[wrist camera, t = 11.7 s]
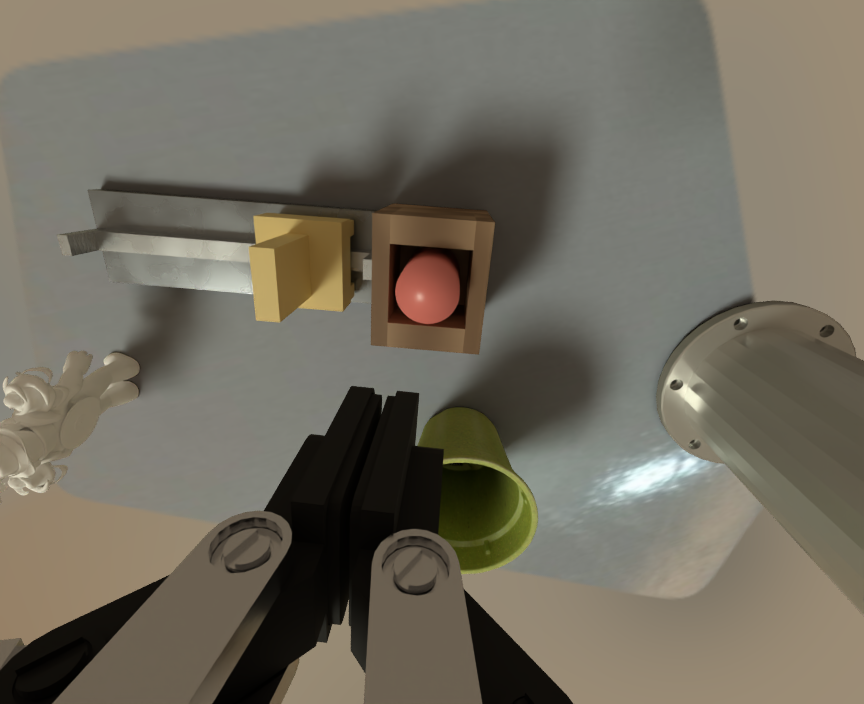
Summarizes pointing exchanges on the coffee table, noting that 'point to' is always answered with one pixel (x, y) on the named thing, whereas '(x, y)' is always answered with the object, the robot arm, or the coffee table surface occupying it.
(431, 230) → the wooden box
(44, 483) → the flower shoulder figurine
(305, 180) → the coffee table surface
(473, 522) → the plant pot
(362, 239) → the rail
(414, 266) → the plunger
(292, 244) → the carriage
